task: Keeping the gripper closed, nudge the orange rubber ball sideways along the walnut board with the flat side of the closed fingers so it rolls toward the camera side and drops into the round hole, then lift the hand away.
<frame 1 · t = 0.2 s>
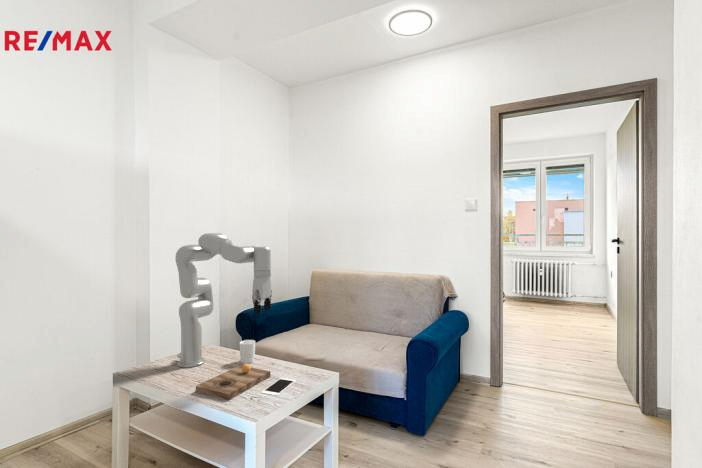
hand: (262, 311, 163), 30 cm above the table, fingers open, 9 cm apart
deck: (235, 383, 156), on the table
cell phone: (279, 387, 154), on the table
white cup: (247, 361, 184), on the table
ball: (246, 368, 163), point 4 cm above the table, touching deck
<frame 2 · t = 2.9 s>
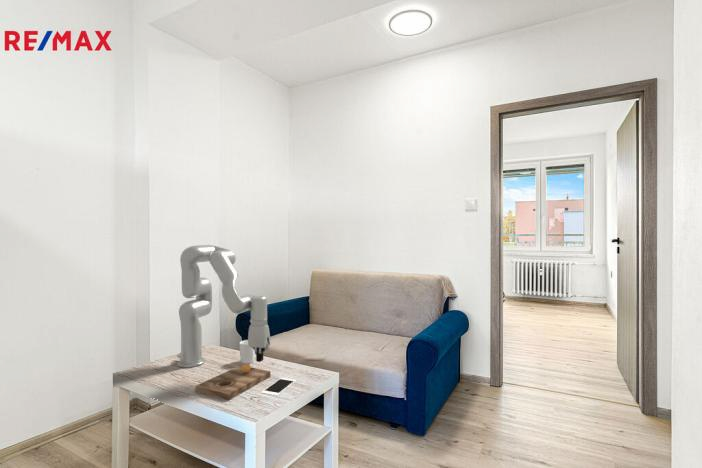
hand: (259, 360, 171), 5 cm above the table, fingers closed
nothing on the table moved.
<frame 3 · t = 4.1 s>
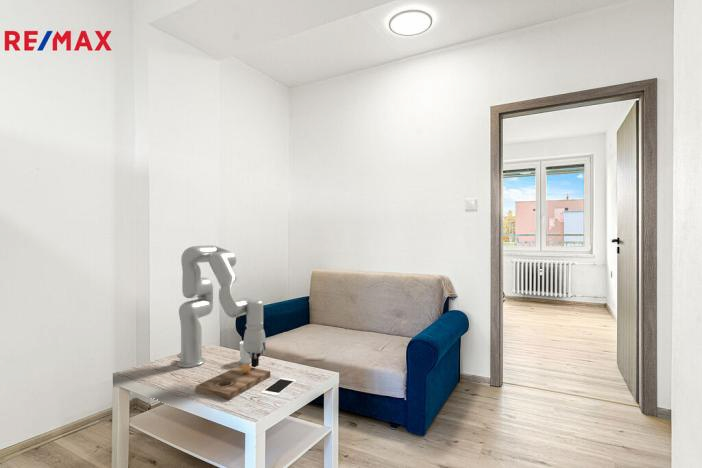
hand: (255, 366, 168), 3 cm above the table, fingers closed
nothing on the table moved.
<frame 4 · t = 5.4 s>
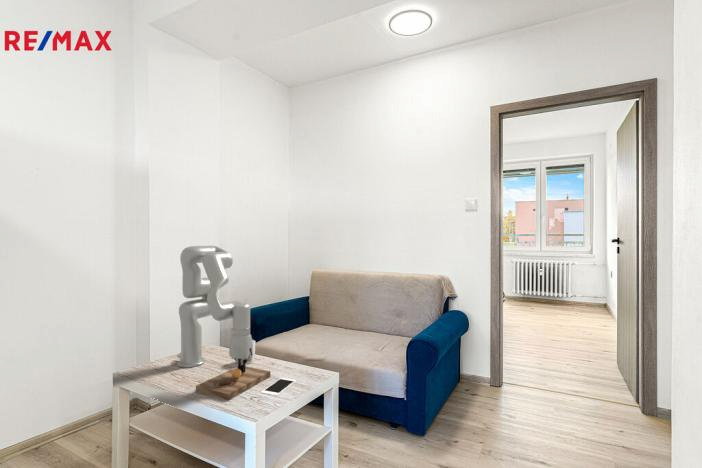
hand: (241, 372, 160), 3 cm above the table, fingers closed
ball: (236, 373, 157), point 4 cm above the table, tilted 172°, touching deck
everything else where it was.
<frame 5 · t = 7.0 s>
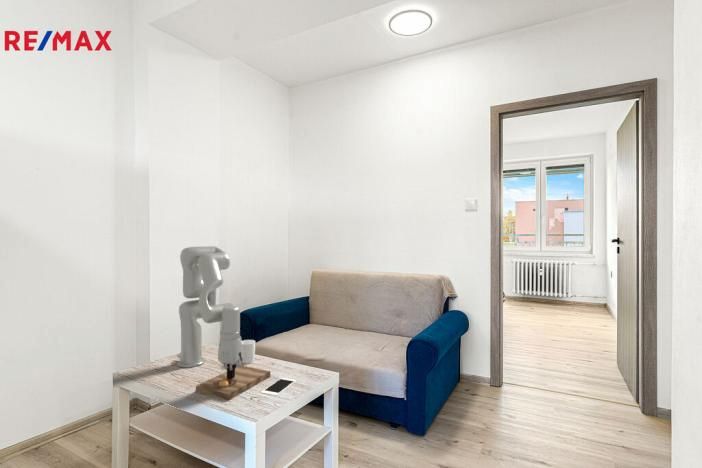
hand: (230, 378, 154), 3 cm above the table, fingers closed
ball: (223, 385, 150), point 2 cm above the table, tilted 56°
everything else where it was.
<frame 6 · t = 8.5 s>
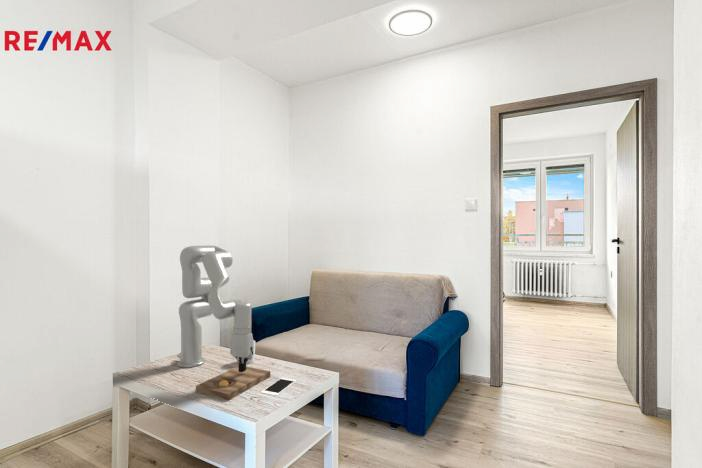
hand: (242, 371, 161), 4 cm above the table, fingers closed
nothing on the table moved.
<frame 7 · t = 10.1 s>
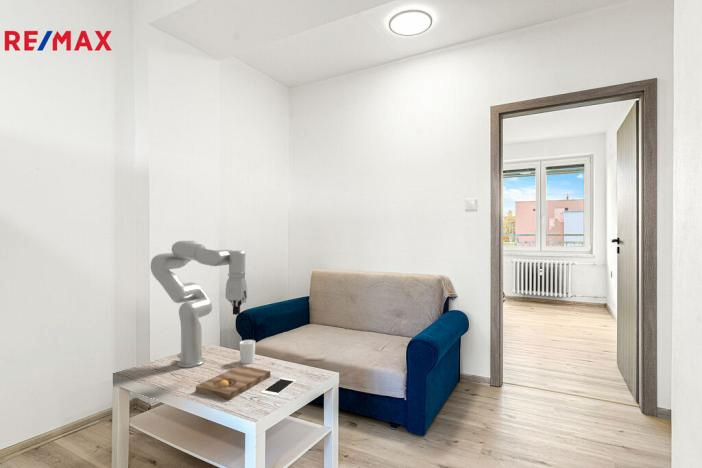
hand: (236, 313, 174), 27 cm above the table, fingers closed
nothing on the table moved.
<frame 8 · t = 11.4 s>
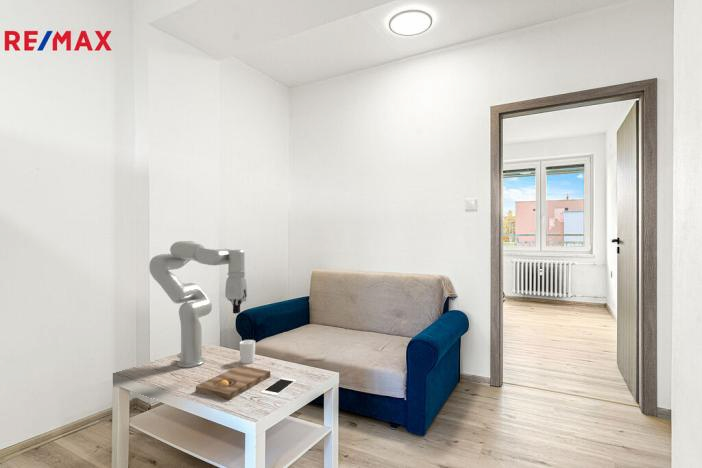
hand: (236, 312, 174), 27 cm above the table, fingers closed
nothing on the table moved.
at the end: ball 0.4 cm from the target spot in the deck, point 2.0 cm above the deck's base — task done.
